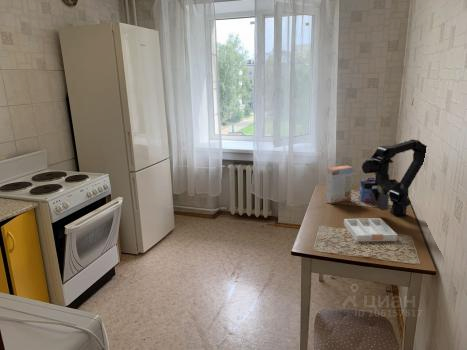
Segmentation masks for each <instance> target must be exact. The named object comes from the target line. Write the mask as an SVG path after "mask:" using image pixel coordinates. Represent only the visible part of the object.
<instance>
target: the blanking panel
mask: <svg viewBox="0 0 467 350" xmlns="http://www.w3.org/2000/svg"><path fill="white" fill-rule="evenodd" d="M377 189H378V191H377V201H375V198H374V195H373V192H372V190H371V199H370V201H372V203H373V204H374V205H375V206H376V207H377V208H378V209H380V211H387V210H388V207H389V199H390V197H389V193H386V192H384V191H383V190H382V189H381V187H380V186H379V187H378V186H377Z"/></svg>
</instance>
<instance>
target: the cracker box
mask: <svg viewBox="0 0 467 350" xmlns="http://www.w3.org/2000/svg"><path fill="white" fill-rule="evenodd" d="M353 170H354V168H353V167H352V166H350V165H347V164H346V165H340V166H332V167H327V168H326V191H325V194H326V195H325V201H326V202H328V203H329V204H338V203H344V202H350V201H352V186H353V185H352V183H353V174H354V173H353V172H354V171H353Z"/></svg>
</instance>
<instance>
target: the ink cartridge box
mask: <svg viewBox="0 0 467 350" xmlns="http://www.w3.org/2000/svg"><path fill="white" fill-rule="evenodd" d="M374 180H375V177H368V178H367V179H360V182H359V194H358V199H359V200H360V202H364V203H365V202H366V201H367V202H368V201H370V199H371V189H364V188H362V187H361V182H362V181H370V182H371V183H375V182H374ZM378 187H379V188H380V186H378Z"/></svg>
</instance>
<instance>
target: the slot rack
mask: <svg viewBox="0 0 467 350" xmlns="http://www.w3.org/2000/svg"><path fill="white" fill-rule="evenodd" d="M343 226H344V227H345V228H346V229H347V231H348V232H349V233H350V234H351V237H352V238H353V239H354V240H355V241H356V242H357V243H358V242H397V241H398V238H399V237H398V236H399V235H398V234H397V232H396V231H394V230H393V228H391V227H390V226H389V225H388V224H387V223H386V222H385V221H384V220H383V219H382V218H380V217H378V218H368V217H366V218H365V217H361V218H360V217H358V218H344V220H343Z"/></svg>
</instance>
